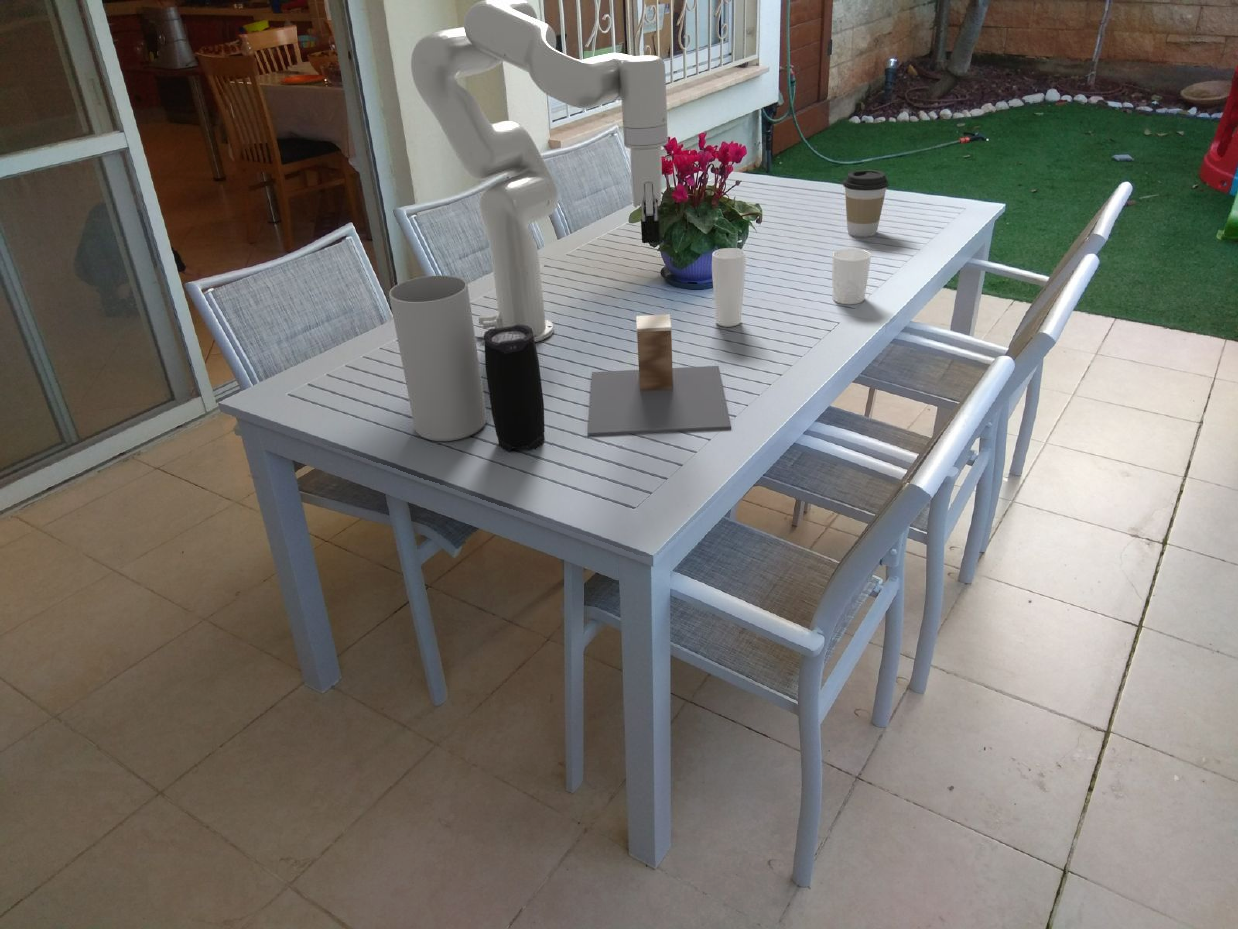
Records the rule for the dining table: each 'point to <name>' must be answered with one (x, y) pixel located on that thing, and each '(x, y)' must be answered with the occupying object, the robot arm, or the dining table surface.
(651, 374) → the wooden box
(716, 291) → the drinking glass
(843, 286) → the white cup
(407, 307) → the cylinder vase
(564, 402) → the dining table surface
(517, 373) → the portable speaker
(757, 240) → the dining table surface
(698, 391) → the rubber mat
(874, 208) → the coffee cup
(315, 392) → the dining table surface
